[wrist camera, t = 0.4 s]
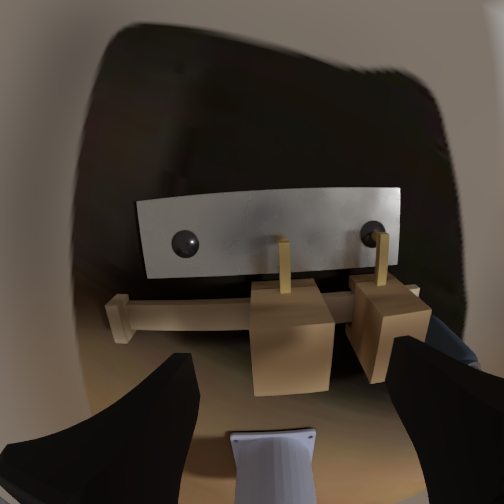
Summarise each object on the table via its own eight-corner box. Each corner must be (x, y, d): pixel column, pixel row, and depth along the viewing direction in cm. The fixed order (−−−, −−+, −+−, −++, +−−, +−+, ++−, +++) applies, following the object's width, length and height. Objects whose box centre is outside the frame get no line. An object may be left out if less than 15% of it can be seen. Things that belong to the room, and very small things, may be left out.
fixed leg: (381, 327, 19) (415, 374, 14) (345, 331, 19) (370, 383, 14) (391, 226, 17) (440, 249, 12) (350, 228, 17) (389, 253, 12)
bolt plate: (394, 262, 18) (397, 264, 18) (149, 276, 19) (147, 279, 18) (397, 187, 17) (400, 188, 16) (138, 200, 17) (136, 201, 17)
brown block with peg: (311, 335, 20) (328, 390, 14) (255, 339, 20) (254, 396, 14) (312, 231, 18) (338, 258, 12) (248, 234, 18) (244, 264, 12)
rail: (410, 314, 19) (421, 326, 17) (125, 329, 20) (115, 342, 18) (415, 277, 18) (428, 287, 16) (116, 294, 19) (104, 305, 17)
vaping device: (388, 362, 20) (449, 472, 9) (418, 307, 19) (511, 405, 8) (409, 365, 21) (472, 465, 9) (439, 314, 19) (527, 402, 8)
